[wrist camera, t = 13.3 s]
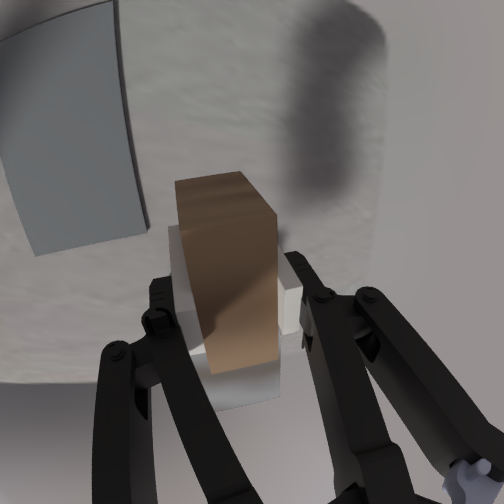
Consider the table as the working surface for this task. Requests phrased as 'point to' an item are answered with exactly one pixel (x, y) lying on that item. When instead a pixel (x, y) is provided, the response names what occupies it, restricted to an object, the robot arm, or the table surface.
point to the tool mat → (68, 133)
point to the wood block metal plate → (232, 286)
